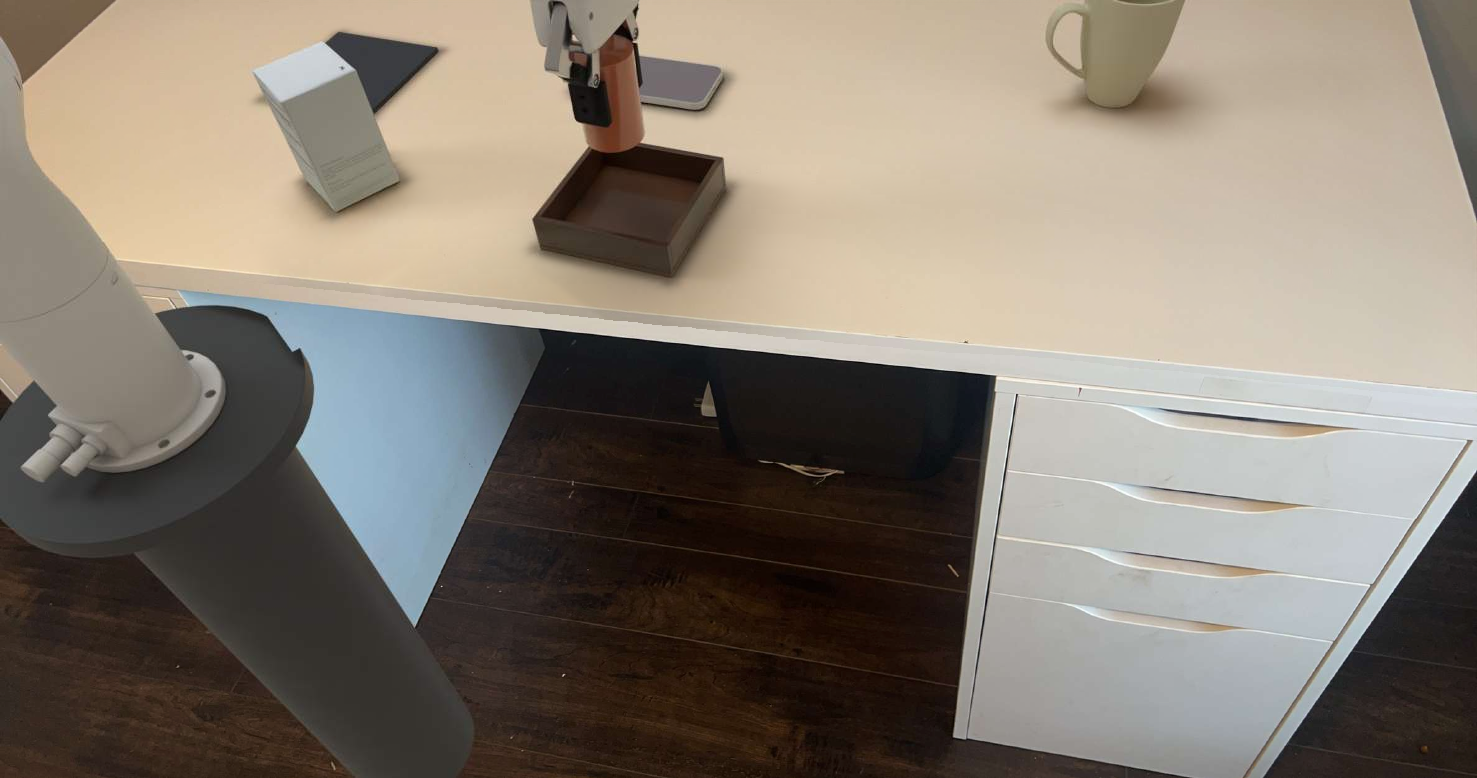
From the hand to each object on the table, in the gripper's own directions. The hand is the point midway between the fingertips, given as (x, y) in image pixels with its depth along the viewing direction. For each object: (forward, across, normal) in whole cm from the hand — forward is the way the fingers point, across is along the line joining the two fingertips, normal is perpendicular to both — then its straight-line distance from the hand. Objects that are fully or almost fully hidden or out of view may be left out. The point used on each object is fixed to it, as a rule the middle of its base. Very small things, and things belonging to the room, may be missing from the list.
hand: (609, 101), depth 83 cm
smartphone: (+12, -22, -8) cm, 26 cm away
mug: (+12, -32, +38) cm, 51 cm away
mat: (+13, -14, -42) cm, 46 cm away
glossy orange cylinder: (+3, 0, 0) cm, 3 cm away
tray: (+13, 0, 0) cm, 13 cm away
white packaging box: (+13, +2, -30) cm, 32 cm away
